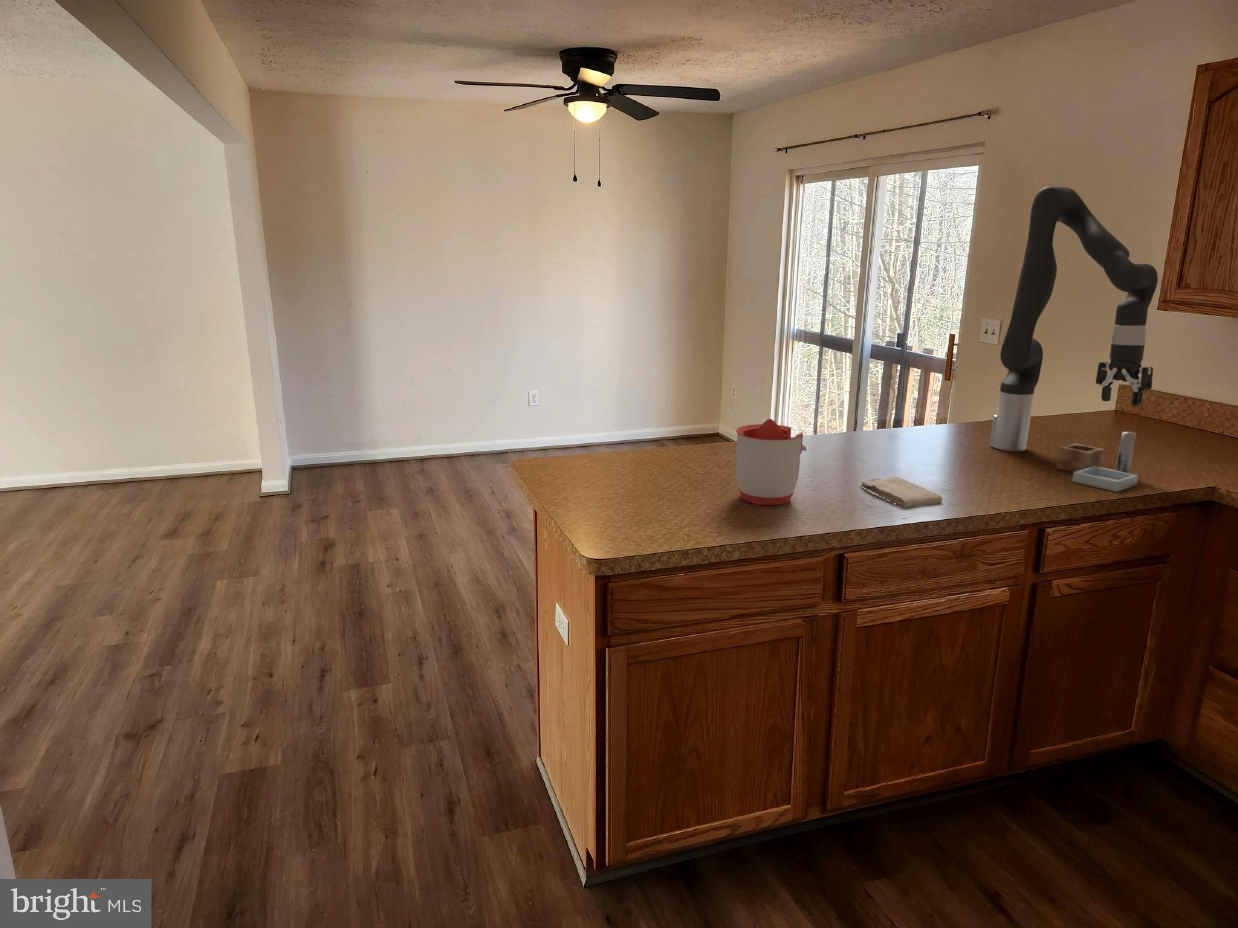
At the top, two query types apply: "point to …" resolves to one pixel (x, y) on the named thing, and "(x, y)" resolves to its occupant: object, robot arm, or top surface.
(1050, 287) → the robot arm
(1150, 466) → the top surface
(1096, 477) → the tray
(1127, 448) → the pin
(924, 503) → the washcloth
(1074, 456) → the square hollow tube
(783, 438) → the citrus juicer
